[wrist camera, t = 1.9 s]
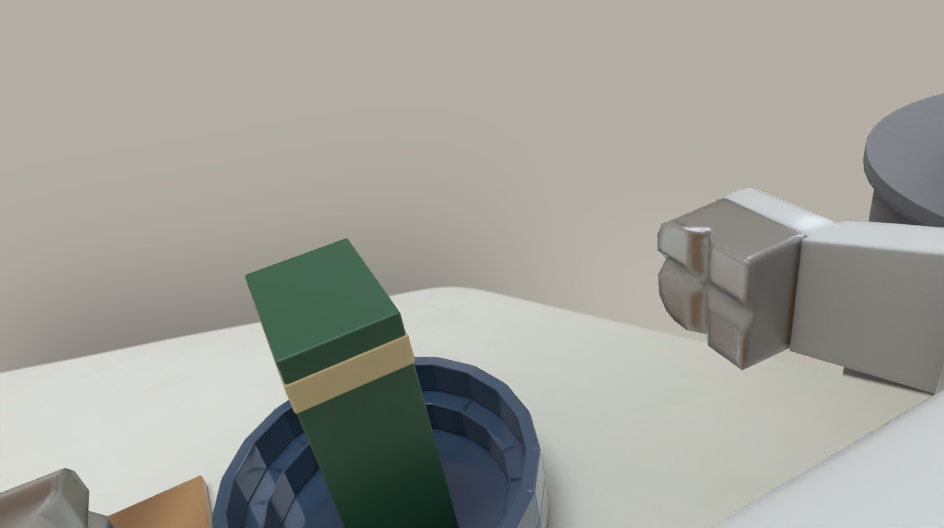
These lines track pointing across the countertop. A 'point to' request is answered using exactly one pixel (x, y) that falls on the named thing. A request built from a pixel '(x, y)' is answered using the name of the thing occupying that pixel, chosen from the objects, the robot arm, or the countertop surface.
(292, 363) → the tea packet
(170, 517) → the cork mat
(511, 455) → the bowl
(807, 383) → the countertop surface
